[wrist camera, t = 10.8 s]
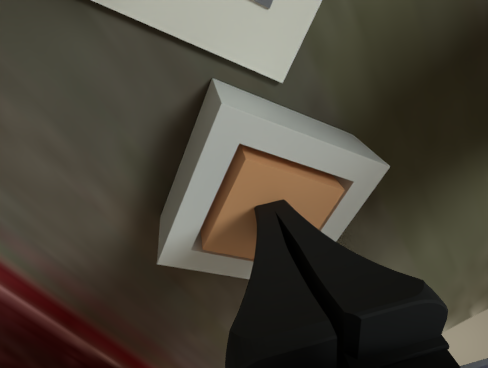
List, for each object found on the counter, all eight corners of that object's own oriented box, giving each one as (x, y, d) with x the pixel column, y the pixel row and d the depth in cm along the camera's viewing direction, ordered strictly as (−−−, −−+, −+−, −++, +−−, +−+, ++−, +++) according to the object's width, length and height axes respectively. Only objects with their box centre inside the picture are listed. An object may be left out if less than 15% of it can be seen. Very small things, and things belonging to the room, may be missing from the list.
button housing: (353, 134, 17) (390, 166, 14) (284, 244, 20) (302, 287, 17) (212, 77, 14) (221, 103, 11) (160, 216, 17) (157, 264, 14)
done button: (323, 163, 16) (344, 190, 14) (280, 235, 18) (293, 266, 16) (236, 133, 14) (245, 158, 12) (199, 216, 16) (202, 249, 14)
